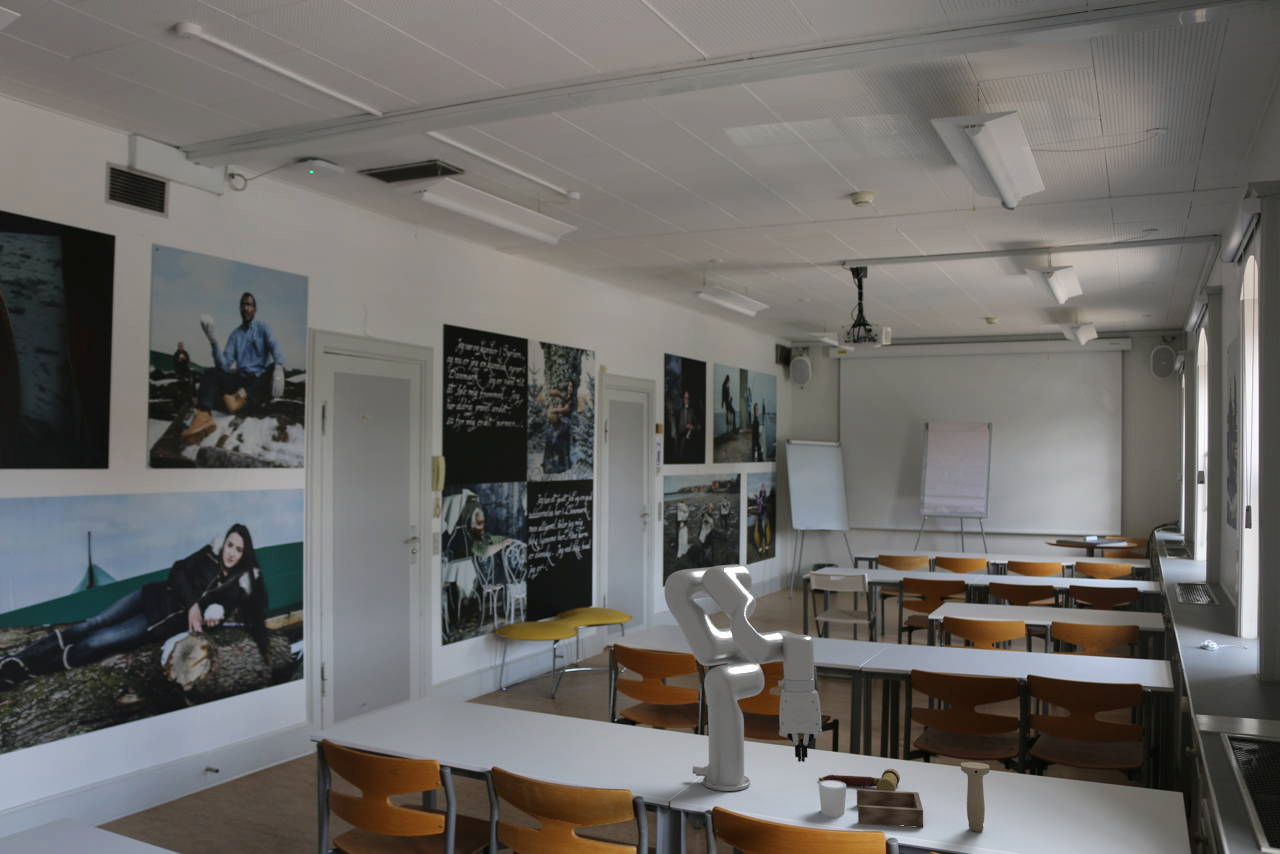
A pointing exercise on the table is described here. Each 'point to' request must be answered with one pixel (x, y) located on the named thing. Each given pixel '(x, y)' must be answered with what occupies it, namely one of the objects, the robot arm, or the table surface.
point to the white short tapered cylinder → (832, 797)
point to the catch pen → (889, 808)
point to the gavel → (869, 780)
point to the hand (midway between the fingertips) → (801, 760)
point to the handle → (975, 793)
